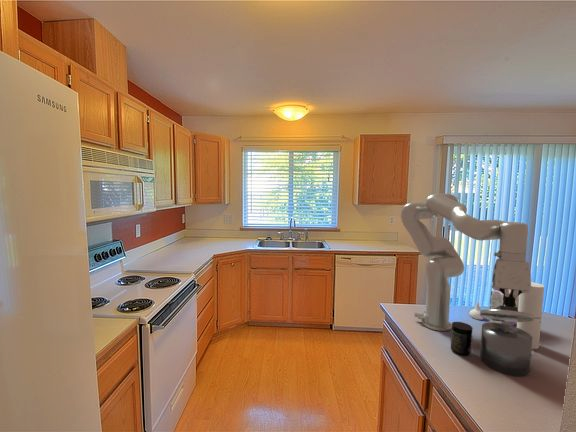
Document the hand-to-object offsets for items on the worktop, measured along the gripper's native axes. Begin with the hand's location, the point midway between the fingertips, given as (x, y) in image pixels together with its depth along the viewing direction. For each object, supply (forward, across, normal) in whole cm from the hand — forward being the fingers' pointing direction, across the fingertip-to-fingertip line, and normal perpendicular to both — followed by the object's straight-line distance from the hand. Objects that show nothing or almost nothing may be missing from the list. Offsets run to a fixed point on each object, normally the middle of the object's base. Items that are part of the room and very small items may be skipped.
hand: (508, 306), depth 99 cm
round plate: (+4, -1, -1) cm, 4 cm away
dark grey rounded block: (+20, -1, -3) cm, 20 cm away
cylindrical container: (+20, +13, +16) cm, 29 cm away
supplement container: (+20, -14, +1) cm, 25 cm away
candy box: (+20, +11, +33) cm, 40 cm away
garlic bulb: (+20, +1, +37) cm, 42 cm away
